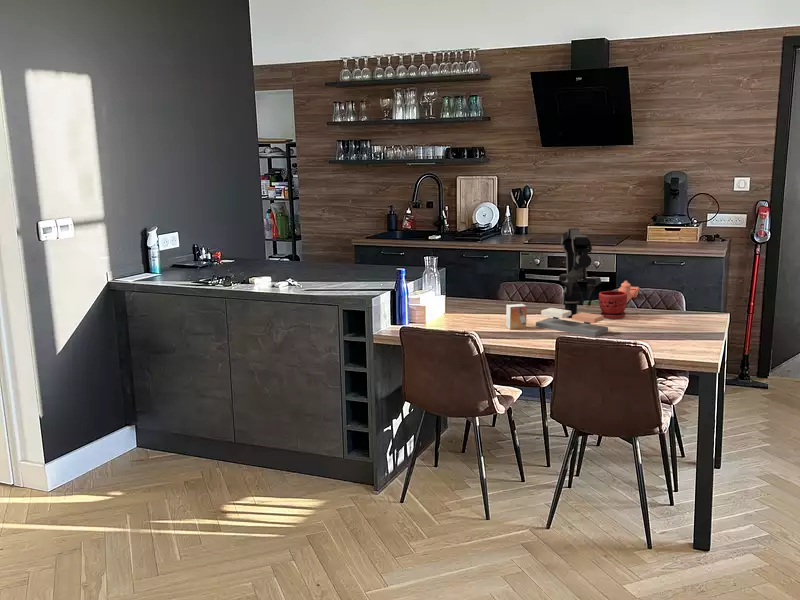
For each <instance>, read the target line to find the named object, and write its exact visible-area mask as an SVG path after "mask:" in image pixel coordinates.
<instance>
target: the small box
mask: <svg viewBox="0 0 800 600" xmlns="http://www.w3.org/2000/svg"><path fill="white" fill-rule="evenodd" d="M527 311H528V310H527V305H525V304H523V303H517V304H506V315H505V317H506V318H505V319H506V320H505V326H506V327H507V328H508V329H509V330H513V329H514V330H515V329H516V330H517V329H521V330H522V329H527V317H528V316H527V314H528V313H527ZM506 327H505V328H506Z"/></svg>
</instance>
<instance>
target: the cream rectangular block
mask: <svg viewBox="0 0 800 600" xmlns="http://www.w3.org/2000/svg"><path fill="white" fill-rule="evenodd" d="M540 311H541V312H540V315H541V316H545V317H550V318H553V319H564V318H568V317H567V316H570V315H571V311H569V310H565V309H560V308H555V307H548V308H546V309H542V310H540Z"/></svg>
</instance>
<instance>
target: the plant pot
mask: <svg viewBox="0 0 800 600" xmlns="http://www.w3.org/2000/svg"><path fill="white" fill-rule="evenodd" d="M627 303H628V300H627V293H626V292H622V291H618V290H606V291H600V292H599V293H598V305H599V307H600V308H599V309H600V311H601V312H600V315H603V319H604V318H605V319H608V320H609V319H610V320H611V319H613V320H619V319H623V318H624V317H625V316H626V315H627V314H626V312H625V310H626V308H627Z"/></svg>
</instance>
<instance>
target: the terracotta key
mask: <svg viewBox="0 0 800 600" xmlns="http://www.w3.org/2000/svg"><path fill="white" fill-rule="evenodd" d="M571 320H572V321H576V322H582V323H585V324H596V323H599V322H602V321H604V317H603V315H601V314H594V313H588V312H582V311H581V312H579V313H578V312H577V314H575V315H572V318H571Z"/></svg>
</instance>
